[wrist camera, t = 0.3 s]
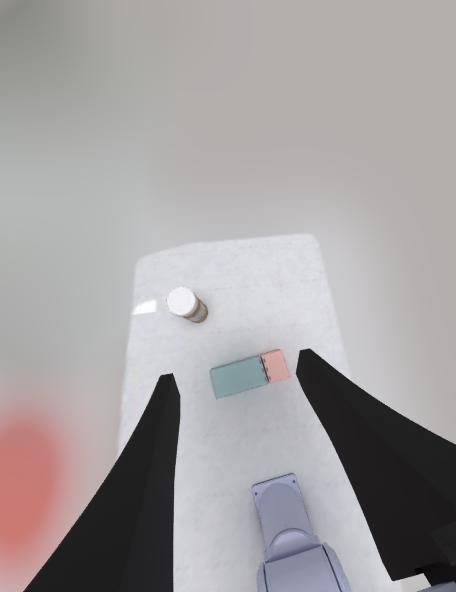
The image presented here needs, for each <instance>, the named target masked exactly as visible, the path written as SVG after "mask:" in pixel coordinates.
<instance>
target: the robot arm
mask: <svg viewBox="0 0 456 592" xmlns="http://www.w3.org/2000/svg"><path fill="white" fill-rule="evenodd" d="M296 375H297V378H298V380H299V383H300V385H301V387H302V389H303V392H304V393H305V395H306V397H307V399H308V401H309V402H310V404H311V406H312V408H313V409H314V411H315V413H316V415H317V416H318V418H319V420H320V422H321V423H322V425H323V427H324V429H325V430H326V432H327V434H328V436H329V438H330V440H331V442H332V444H333V446H334V448H335V450H336V452H337V454H338V456H339V459H340V461H341V463H342V465H343V467H344V470H345V472H346V474H347V476H348V479H349V481H350V483H351V485H352V487H353V490H354V492H355V495H356V497H357V499H358V502H359V504H360V506H361V509H362V511H363V514H364V516H365V519H366V521H367V524H368V526H369V529H370V531H371V534H372V536H373V539H374V541H375V544H376V546H377V549H378V552H379V554H380V557H381V560H382V562H383V564H384V566H385V568H386V570H387V572H388V574H389V576H390V578H391V580H392V581H396V580H400V579H404V578H407V577H411V576H415V575H418V574H422V573H424V575H425V576H426V578H427V580H428V582H429V583H430V584H431V587H429V588H426V589H423V590H421V591H418V592H456V444H454V443H452V442H450V441H448V440H446V439H444V438H442V437H440V436H438V435H436V434H434V433H432V432H431V431H429V430H427V429H425V428H424V427H422V426H420V425H418V424H416V423H415V422H413V421H411V420H409V419H408V418H406V417H404V416H403V415H401V414H399V413H398V412H396V411H394V410H393V409H391V408H390V407H388V406H387V405H385V404H383V403H382V402H380V401H378V400H377V399H376V398H374V397H373V396H371V395H370V394H368V393H367V392H365V391H364V390H363V389H361V388H360V387H358V386H357V385H356V384H354V383H353V382H352V381H350V380H349V379H348V378H346V377H345V376H344V375H342V374H341V373H340V372H338V371H337V370H336V369H335V368H333V367H332V366H331V365H330V364H328V363H327V362H326V361H325V360H323V359H322V358H321V357H320V356H319V355H317V354H316V353H315V352H314V351H312V350H311V349H305V350H300V353H299V358H298V364H297V370H296ZM179 425H180V394H179V391H178V388H177V384H176V381H175V378H174V375H173V373H171V374H166V375H161V376H160V377H159V380H158V382H157V385H156V387H155V389H154V392H153V394H152V396H151V398H150V400H149V403H148V405H147V407H146V409H145V411H144V413H143V415H142V417H141V419H140V421H139V423H138V425H137V426H136V428H135V430H134V432H133V434H132V435H131V437H130V439H129V441H128V443H127V445H126V446H125V448H124V450H123V451H122V453H121V455H120V456H119V458H118V460H117V461H116V463H115V465H114V466H113V468H112V469H111V471H110V473H109V474H108V476H107V477H106V479H105V480H104V482H103V483H102V485H101V486H100V488H99V489H98V491H97V492H96V494H95V495H94V497H93V498H92V500H91V502H90V503H89V504H88V506H87V507H86V509H85V510H84V511H83V513H82V514H81V516H80V517H79V518H78V520H77V521H76V522H75V524H74V525H73V527H72V528H71V529H70V531H69V532H68V533H67V535H66V536H65V538H64V539H63V540H62V542H61V543H60V544H59V546H58V547H57V549H56V550H55V551H54V553H53V554H52V555H51V557H50V558H49V559H48V561H47V562H46V563H45V565H44V566H43V567H42V568H41V569H40V571H39V572H38V573H37V575H36V576H35V577H34V579H33V580H32V581H31V582H30V584H29V585H28V586H27V587H26V589H25V590H24V591H23V592H173V523H174V478H175V465H176V455H177V445H178V435H179ZM293 480H295V481H294V482H293ZM252 491H253V495H254V499H255V503H256V507H257V511H258V514H259V518H260V522H261V526H262V530H263V534H264V540H265V547H266V551H264V558H265V564H264V562H263V563H260V564H259V569H258V572H257V588H258V592H352V591H351V588H350V586H349V583H348V581H347V578H346V576H345V573H344V571H343V568H342V566H341V564H340V562H339V559H338V557H337V555H336V553H335V551H334V550H333V549H332V548H331V547H330V546H329V545H328V544H327V543H322V546H321V544H320V542H319V539H318V537H317V535H314V533H313V531H312V528H311V526H310V523H309V520H308V516H307V513H306V510H305V506H304V503H303V500H302V497H301V493H300V490H299V487H298V483H297V480H296V477H295V475H294V474H290V475H286V476H283V477H280V478H277V479H273V480H270V481H267V482H264V483H261V484H257V485H254V486H253V487H252ZM255 492H257V493H256V494H255Z"/></svg>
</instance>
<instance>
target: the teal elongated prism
mask: <svg viewBox="0 0 456 592" xmlns="http://www.w3.org/2000/svg"><path fill="white" fill-rule="evenodd" d="M210 375H211V380H212V384H213V388H214V392H215V396H216V399H219V398H222V397H225V396H229V395H232V394H236V393H239V392H242V391H246V390H249V389H252V388H256V387H259V386H263V385H266V384H268V381H267V378H266V374H265V371H264V368H263V365H262V361H261V358H260V356H259V355H257V356H254V357H251V358H247V359H244V360H240V361H237V362H233V363H230V364H227V365H223V366H220V367H216V368H213V369H211V370H210Z"/></svg>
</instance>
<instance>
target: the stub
mask: <svg viewBox="0 0 456 592" xmlns="http://www.w3.org/2000/svg"><path fill="white" fill-rule="evenodd" d="M260 358H261V361H262V364H263V367H264V371H265V374H266V377H267V380H268V382H269V383H273V382H276V381H280V380H283V379H287V378H290V374H289V371H288V368H287V365H286V362H285V359H284V356H283V353H282V350H275V351H271V352H268V353H264V354H261V355H260Z"/></svg>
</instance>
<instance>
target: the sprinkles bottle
mask: <svg viewBox="0 0 456 592" xmlns="http://www.w3.org/2000/svg"><path fill="white" fill-rule="evenodd" d="M166 303H167V307H168V309H169V311H170V312H171V313H173V314H174V315H176V316H179V317H183V318H186V319H188V320H190V321H192V322H195V323H199V322H202V321H203V320H205V318H206V317H207V314H208V310H207V307H206V306H205V305H204V304H203V303H202V302H201V301H200V300H199V299H198V298H197V296H196V294H195V293H194V292H193V291H192V290H191V289H189V288H187V287H177V288H175V289H173V290H172V291H171V292H170V293H169V295H168V297H167V301H166Z"/></svg>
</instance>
